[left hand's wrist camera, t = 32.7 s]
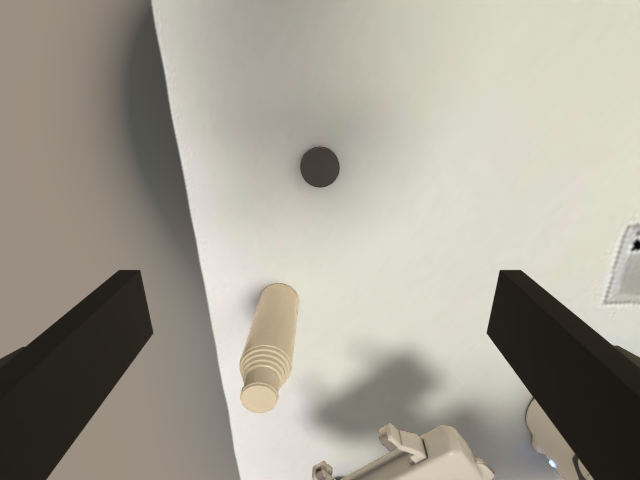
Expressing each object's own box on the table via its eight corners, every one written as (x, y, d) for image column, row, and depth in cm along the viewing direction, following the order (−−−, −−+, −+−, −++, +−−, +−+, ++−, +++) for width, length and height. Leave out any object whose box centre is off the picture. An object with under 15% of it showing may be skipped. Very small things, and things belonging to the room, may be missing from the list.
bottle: (260, 281, 48) (229, 374, 31) (300, 285, 48) (289, 379, 31) (259, 315, 50) (229, 419, 33) (297, 318, 50) (286, 423, 33)
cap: (296, 177, 42) (295, 179, 41) (308, 141, 41) (308, 142, 39) (330, 190, 43) (330, 192, 42) (344, 154, 41) (345, 156, 40)
